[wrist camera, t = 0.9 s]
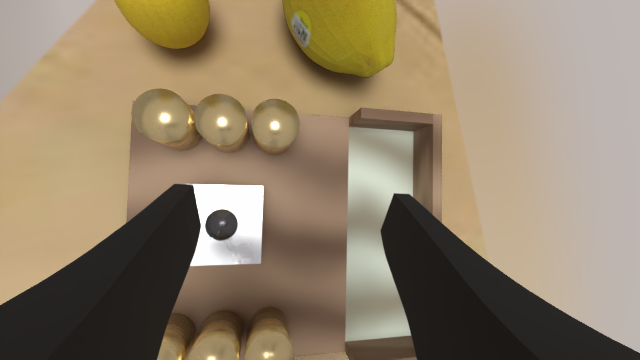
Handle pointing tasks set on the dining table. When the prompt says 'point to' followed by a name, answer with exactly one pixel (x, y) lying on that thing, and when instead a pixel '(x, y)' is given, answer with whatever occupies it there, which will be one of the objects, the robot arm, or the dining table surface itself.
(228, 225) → the square block with knob
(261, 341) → the spacers
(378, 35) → the lemon
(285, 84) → the dining table surface
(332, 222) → the tray
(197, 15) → the lemon
